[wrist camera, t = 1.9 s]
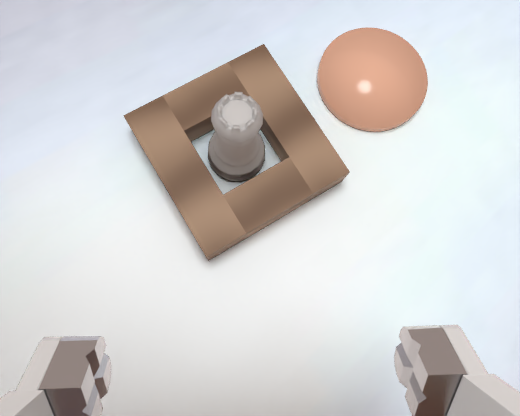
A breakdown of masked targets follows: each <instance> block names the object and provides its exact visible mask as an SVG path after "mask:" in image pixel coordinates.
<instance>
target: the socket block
mask: <svg viewBox="0 0 520 416" xmlns="http://www.w3.org/2000/svg"><path fill="white" fill-rule="evenodd" d="M235 92H243V94H244V95H246V96H248V97H249V96H251V97H252V98H253V99H254V100H255V101H256V102H257V103H258V104H259V105H260V108H261V110H262V113H263V124H262V126H261V128H260V129H261V130H262V132H263V134H264V135H265V137H266V138H267V140H268V141H269V143H270V144H271V146H272V148H273V149H274V151H275V152H276V154H277V155H278V157H279V158H280V160H281V161H282V162H280V163H278V164H276V165H275V166H273V167H271V168H269V169H268V170H266V171H264V172H262V173H261V174H259V175H257V176H255V177H254V178H252V179H250V180H248V181H246V182H245V183H243V184H241V185H239V186H238V187H236V188H234V189H232V190H231V191H229V192H227V193H225V194H224V195H223V194H222V192H221V191H220V189H219V188H218V186H217V184H216V183H215V181H214V179H213V178H212V176H211V174H210V173H209V171H208V169H207V168H206V166H205V165H204V163H203V161H202V160H201V158H200V156H199V155H198V153H197V151H196V150H195V148H194V146H193V145H192V143H191V141H193V140H195V139H197V138H199V137H200V136H202V135H204V134H206V133H208V132H210V131H212V130H213V129H214V127H213V125H212V122H211V115H212V110H213V108H214V106H215V104H216V102H218V101H219V100H220V99H221V98H222V97H224V96H225V95H226V94H227V95H231V94H234V93H235ZM124 117H125V119H126V121H127V122H128V124H129V126H130V128H131V129H132V131H133V133H134V134H135V136H136V138H137V140H138V141H139V143H140V145H141V146H142V148H143V150H144V152H145V153H146V155H147V157H148V158H149V160H150V162H151V164H152V165H153V167H154V169H155V170H156V172H157V174H158V176H159V177H160V179H161V181H162V182H163V184H164V186H165V188H166V189H167V191H168V193H169V194H170V196H171V198H172V200H173V201H174V203H175V205H176V206H177V208H178V210H179V212H180V213H181V215H182V217H183V218H184V220H185V222H186V223H187V225H188V227H189V229H190V230H191V232H192V234H193V235H194V237H195V239H196V241H197V242H198V244H199V246H200V247H201V249H202V251H203V253H204V254H205V256H206V258H207V259H208V261H209V260H210V259H212V258H214V257H216V256H217V255H219V254H221V253H222V252H224V251H226V250H227V249H229V248H231V247H232V246H234V245H236V244H237V243H239V242H241V241H242V240H244V239H246V238H248V237H249V236H251V235H253V234H254V233H256V232H258V231H259V230H261V229H263V228H264V227H266V226H268V225H269V224H271V223H273V222H274V221H276V220H278V219H279V218H281V217H283V216H285V215H286V214H288V213H290V212H291V211H293V210H295V209H296V208H298V207H300V206H301V205H303V204H305V203H306V202H308V201H310V200H311V199H313V198H315V197H317V196H318V195H320V194H322V193H323V192H325V191H327V190H328V189H330V188H332V187H333V186H335V185H337V184H338V183H340V182H342V180H343V179H344V178H345V177H346V176H347V175H348V174H349V170H348V169H347V167H346V166H345V164H344V163H343V161H342V160H341V158H340V157H339V155H338V154H337V152H336V151H335V149H334V148H333V146H332V145H331V143H330V142H329V140H328V139H327V137H326V136H325V134H324V133H323V131H322V130H321V128H320V127H319V125H318V124H317V122H316V121H315V119H314V118H313V117H312V115H311V114H310V112H309V111H308V109H307V108H306V106H305V105H304V103H303V102H302V100H301V99H300V97H299V96H298V94H297V93H296V91H295V90H294V88H293V87H292V85H291V84H290V82H289V81H288V79H287V78H286V76H285V75H284V73H283V72H282V70H281V69H280V67H279V66H278V64H277V63H276V61H275V60H274V58H273V57H272V55H271V54H270V53H269V51H268V50H267V48H266V47H265V45H264V44H263V45H261V46H259V47H257V48H255V49H253V50H251V51H249V52H247V53H245V54H243V55H241V56H239V57H237V58H235V59H234V60H232V61H230V62H228V63H226V64H224V65H222V66H220V67H218V68H216V69H214V70H212V71H210V72H208V73H206V74H204V75H202V76H200V77H198V78H196V79H194V80H192V81H190V82H189V83H187V84H185V85H183V86H181V87H179V88H177V89H175V90H173V91H171V92H169V93H167V94H165V95H163V96H161V97H159V98H157V99H155V100H153V101H151V102H149V103H147V104H145V105H144V106H142V107H140V108H138V109H136V110H134V111H132V112H130V113H128V114H126V115H124Z"/></svg>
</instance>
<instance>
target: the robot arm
mask: <svg viewBox="0 0 520 416" xmlns="http://www.w3.org/2000/svg"><path fill="white" fill-rule="evenodd" d="M399 338H400V340H401V344H399V345H398V346H397V347H396V350H395V355H394V362H395V370H396V374H397V377H398V380H399V382H400V383H401V384H402V385H404V386H405V387H406V388H407V391H406V394H405V398H406V401H407V404H408V406H409V409H410V412H411V414H412V416H520V392H519V391H517V390H516V389H514V388H513V387H512V386H510V385H509V384H507V383H506V382H505V381H503V380H502V379H500V378H499V377H497V376H496V375H495V374H488V372H487V371H486V369H485V367H484V366H483V364H482V362H481V361H480V359H479V357H478V356H477V354H476V352H475V351H474V349H473V347H472V345H471V344H470V342H469V340H468V339H467V337H466V335H465V334H464V332H463V330H462V329H461V327H459V326H458V325H439V326H437V325H432V326H409V327H403V328H402V329H401V331H400V334H399ZM105 348H106V343H105V340H104V337H101V336H87V337H44V338H43V339H42V340H41V341H40V342H39V344H38V346H37V348H36V350H35V352H34V354H33V356H32V358H31V360H30V362H29V364H28V366H27V368H26V370H25V372H24V374H23V376H22V378H21V380H20V382H19V384H18V386H17V388H16V390H15V391H9V392H8V393H7V394H5V395H4V396H3V397H2V398H0V416H101V413H102V409H103V407H102V403H101V400H100V399H101V398H102V397H103V396H104V395H105V394H106V393H107V392H108V388H109V384H110V378H111V362H110V358H109V356H108V355H106V354H105V353H104V351H105Z"/></svg>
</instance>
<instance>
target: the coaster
mask: <svg viewBox="0 0 520 416" xmlns="http://www.w3.org/2000/svg"><path fill="white" fill-rule="evenodd" d="M317 83H318V89H319V92H320V95H321V98H322V100H323V102H324V103H325V105H326V107H327V108H328V109H329V110H330V112H331V113H332V114H333V115H334V116H335V117H337V118H338V119H339V120H340V121H342V122H344V123H345V124H347V125H349V126H351V127H353V128H356V129H360V130H364V131H372V132H378V131H386V130H390V129H393V128H396V127H398V126H400V125H402V124H403V123H405V122H406V121H408V120H409V119H410V118H411V117H412V116H413V115H414V114H415V113H416V111H417V110H418V109H419V108H420V106H421V105H422V103H423V101H424V98H425V96H426V92H427V85H428V81H427V73H426V69H425V66H424V63H423V61H422V59H421V57H420V56H419V54H418V53H417V51H416V50H415V49H414V48H413V47H412V46H411V45H410V44H409V43H408V42H407V41H406V40H404V39H403V38H401V37H400V36H398V35H396V34H394V33H392V32H389V31H386V30H383V29H378V28H359V29H354V30H351V31H348V32H346V33H344V34H342V35H340V36H339V37H337V38H336V39H335V40H333V41H332V42H331V44H330V45H329V46H328V47H327V49H326V50H325V52H324V54H323V56H322V58H321V61H320V64H319V68H318V73H317Z"/></svg>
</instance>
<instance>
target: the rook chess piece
mask: <svg viewBox="0 0 520 416" xmlns="http://www.w3.org/2000/svg"><path fill="white" fill-rule="evenodd" d="M211 122H212V125H213V127H214V130H215V132H214V134H213V136H212V138H211V139H210V141H209V148H208V159H209V162H210V165H211V167H212V169H213V170H214V171H215V172H216V173H217V174H218V175H219V176H221V177H223V178H225V179H227V180H231V181H242V180H245V179H249V178H251V177H253V176H254V175H255V174H256V173H257V172H258V171H260V169H261V167H262V165H263V163H264V161H265V145H264V142H263V140H262V137H261V135H260V134H259V133H258V132H259V130H260V128H261V126H262V124H263V113H262V110H261V108H260V105H259V104H258V103H257V102H256V101H255V100H254V99H253V98H252V97H251V96H249V97H248V96H246V95H244V94H243V92H235V93H234V94H231V95H227V94H226V95H225V96H224V97H222V98H221V99H220V100H219V101H218V102H216V104H215V106H214V108H213V110H212V115H211Z"/></svg>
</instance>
